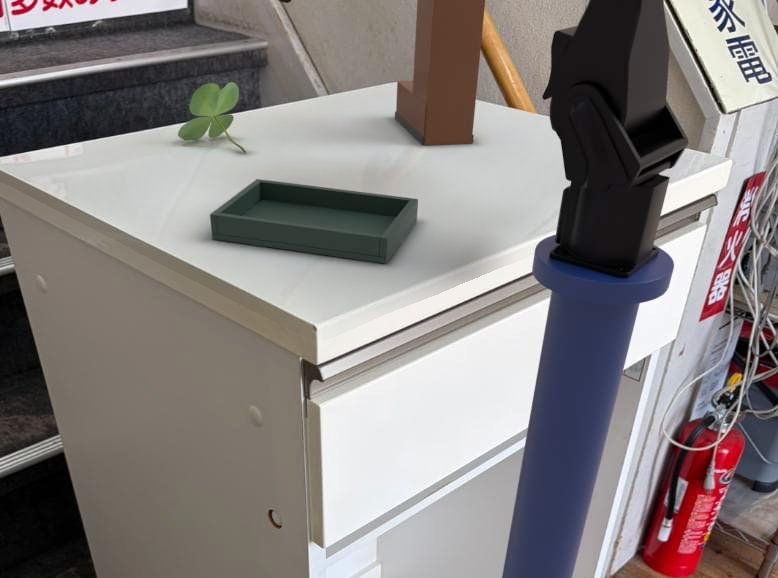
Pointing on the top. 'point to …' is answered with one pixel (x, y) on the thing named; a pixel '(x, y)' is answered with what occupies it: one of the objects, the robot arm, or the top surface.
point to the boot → (443, 72)
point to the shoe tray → (316, 220)
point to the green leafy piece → (211, 112)
